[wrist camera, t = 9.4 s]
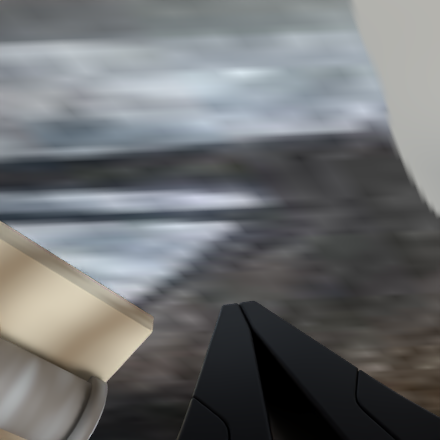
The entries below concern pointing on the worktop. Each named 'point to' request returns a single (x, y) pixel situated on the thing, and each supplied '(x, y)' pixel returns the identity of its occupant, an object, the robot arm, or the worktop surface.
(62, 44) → the worktop surface
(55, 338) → the valve board
